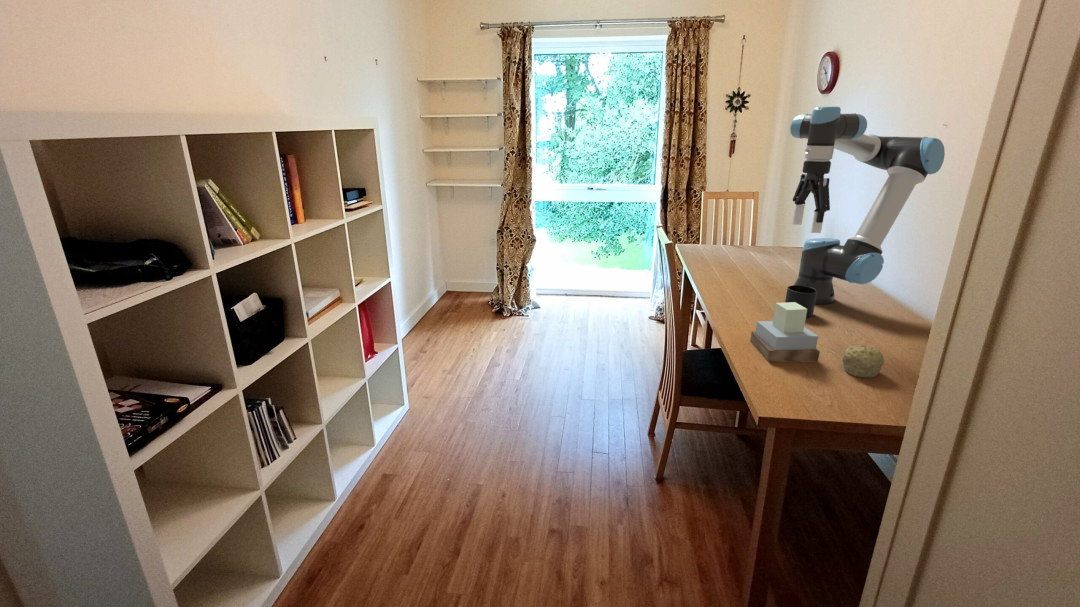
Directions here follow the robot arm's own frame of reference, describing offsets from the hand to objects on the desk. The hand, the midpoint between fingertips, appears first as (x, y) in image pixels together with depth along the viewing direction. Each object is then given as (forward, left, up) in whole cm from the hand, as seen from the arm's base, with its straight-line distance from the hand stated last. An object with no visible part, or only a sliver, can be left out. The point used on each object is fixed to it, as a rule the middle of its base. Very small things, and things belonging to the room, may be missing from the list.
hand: (805, 228), depth 164 cm
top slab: (+13, +26, -28) cm, 41 cm away
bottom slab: (+13, +26, -32) cm, 43 cm away
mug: (-6, -8, -32) cm, 33 cm away
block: (+13, +26, -24) cm, 38 cm away
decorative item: (-3, +38, -32) cm, 50 cm away
